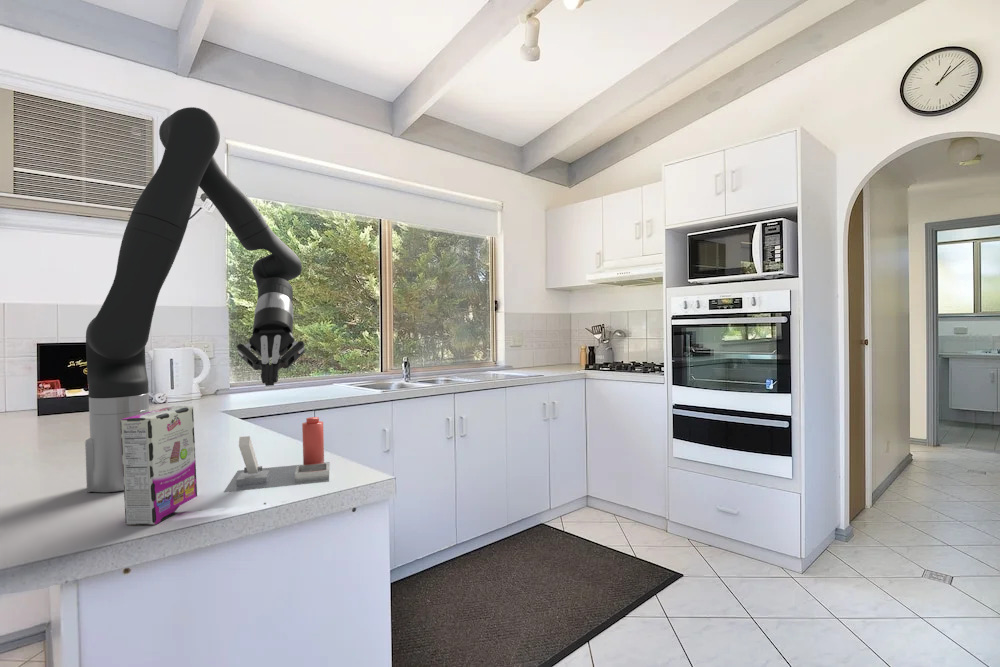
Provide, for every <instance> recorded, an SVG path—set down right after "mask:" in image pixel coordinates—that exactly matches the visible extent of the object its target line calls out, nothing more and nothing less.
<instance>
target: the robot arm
mask: <svg viewBox="0 0 1000 667" xmlns="http://www.w3.org/2000/svg"><path fill="white" fill-rule="evenodd" d="M158 132H159V133H158V134H159V139H160V143H161V144H162V146H163V147H164V151H163V155H162V158H161V161H160V163H159V166H158V168H157V169H156V171H155V173H154V174H153V176H152V177H151V179H150V180H149V182H148V183H147V185H146V187H145V188H144V190H143V191H142V193H141V194H140V195H139V197H138V199H137V201H136V203H135V205H134V207H133V209H132V211H131V214H130V217H129V219H128V221H127V224H126V226H125V230H124V233H123V235H122V239H121V243H120V248H119V252H118V257H117V258H118V259H117V264H116V270H115V271H116V272H115V276H114V279H113V282H112V285H111V287H110V289H109V291H108V292H107V296H106V297H105V299H104V302H102V306H101V307H100V309H99V311H98V313H97V314H96V316H95V317H94V318H93V319H92V320H90V322H89V323H88V325H87V328H86V331H85V350H86V351H85V354H86V355H85V356H86V377H87V387H88V390H87V391H88V411H89V412H88V414H89V416H88V418H89V438H87V439H86V440H85V442H84V445H85V471H86V472H85V476H86V478H85V479H86V493H90V492H92V493H93V492H95V493H111V492H113V493H114V492H122V491H124V481H123V461H122V441H121V422H120V420H121V419H124V418H128V417H131V416H135V415H139V414H143V413H147V412H150V398H149V396H150V395H149V379H148V374H147V373H148V372H147V368H146V367H147V366H146V365H147V363H146V345H147V344H148V342H149V338H150V332H151V327H152V321H153V317H154V313H155V310H156V309H155V308H156V305H157V302H158V298H159V295H160V292H161V289H162V287H163V285H164V283H165V282H166V279H167V277H168V276H169V273H170V271H171V268H172V267H173V265H174V262H175V260H176V257H177V255H178V252H179V250H180V247H181V245H182V242H183V240H184V237H185V233H186V231H187V228H188V224H189V220H190V218H191V214H192V211H193V208H194V205H195V202H196V198H197V194H198V191H199V188H200V190H202V192H203V193H204V194H205V195H206V196H207V198H208V199H209V201H211V203H212V205H214V206H215V209H217V211H218V212H219V214H220V215H221V217H222V218H223V220H224V221H225V222H226V224H227V225H228V227H229V228H230V230H231V232H232V233H233V234H234V235H235V237H236V238H237V239H238V241H239V243H240V244H241V246H242V247H243V248H244V249H245V250H246V251H249V252H250V251H257V250H266V251H268V252H269V253H270V254H268V255H265V256H263V257H262V258H259V259H257V260H256V261H255V262H254V264H253V266H252V269H251V270H252V276H253V278H254V280H255V284H256V288H257V291H258V292H257V302H256V305H255V308H254V316H253V325H252V326H253V327H252V334H251V337H249V340H248V342H247V343H245V344H243V343H239V344H237V345H236V347H237V348H236V349H237V352H238V356H239V357H240V358H241V359H242V360H243V361H244V362H245V363H247V365H249V366H250V367H251V368H252V370H253V369H254V371H259V370H261V372H260V380H261V383H262V384H264V385H265V387H270V386H275V383H277V382H279V370H280V369H285V370H286V369H289V367H291V365H293V364H294V362H295V361H297V360H298V359H299V358H300V357H302V355H303V354H304V353H305V351H306V350H305V348H306V347H305V342H304V341H303V340H302V341H301V340H300V341H297V340H295V336H293V330H294V329H293V326H294V318H295V317H294V308H293V298H294V297H293V296H294V295H293V294H294V292H293V286H292V284H291V283H290V282H289V281H291V280H293V279H295V278H298V277H299V276H300V275H301V273H302V270H303V266H302V262H301V259H300V257H299V256H298V255H297V254H296V253H295V251H294V250H293V249H291V248H290V247H289V245H287V244H286V243H285V242H284V241H283V240H281V239H280V238H279V236H278V235H276V234H275V232H274V231H273V230H272V229H271V227H270V226H269V225H268V223H267V222H266V220H265V218H264V216H263V215H262V213H261V212H260V211H259V209H258V207H257V206H256V205H255V204H254V202H252V200H251V199H250V197H248V196H247V195H246V194H245V193H244V192H243V191H242V190H241V189H240V188H239V187H238V186H237V185H235V183H234V182H233V181H232V180H231V179H230V178H229V177H228V176H227V175H226V174H225V172H224V171H223V169H222V168H221V166H220V165H219V163H218V162H217V160H216V157H215V156H214V155H215V153H216V151H217V149H218V147H219V144H220V138H221V131H220V128H219V125H218V123H217V121H216V120H215V118H214V117H213V116H212V115H211V113H209V112H208V111H207V110H204V109H203V108H200V107H192V106H191V107H189V106H188V107H184V108H181V109H177V110H176V111H175V112H173V113H172V114H170V115H169V116H167V118H165V119H163V121H162V123H161V124H160V126H159V130H158ZM252 351H254V352H255V353H256V354H257V355H258V356H259V357H261V359H259V357H257V356H256V355H255V354H254V353H253V352H252ZM270 358H271V359H270Z"/></svg>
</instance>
